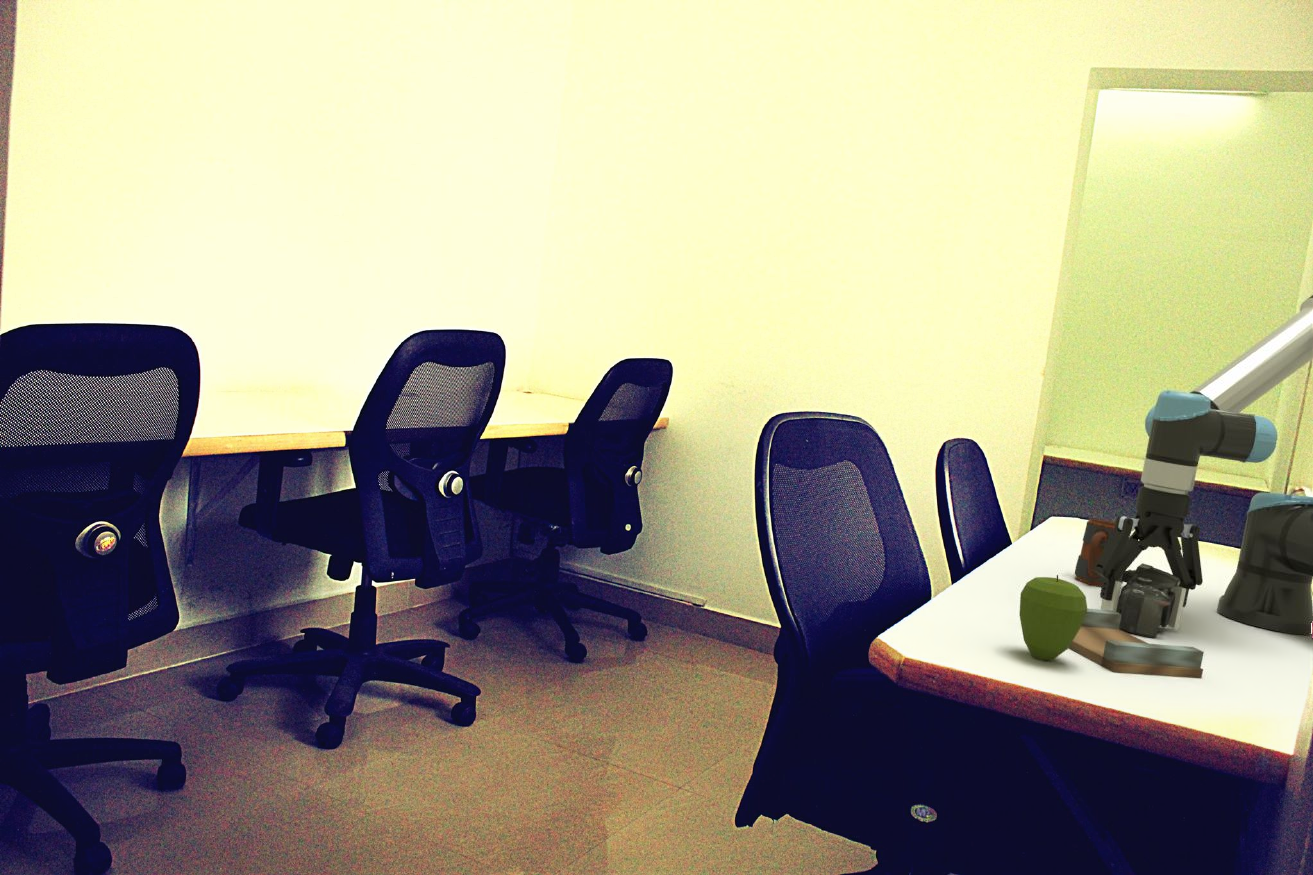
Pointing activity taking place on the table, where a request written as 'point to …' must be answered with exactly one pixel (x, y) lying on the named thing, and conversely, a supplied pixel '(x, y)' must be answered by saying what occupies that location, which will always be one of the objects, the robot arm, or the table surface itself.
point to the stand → (1131, 649)
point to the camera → (1146, 600)
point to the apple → (1050, 615)
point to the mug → (1093, 551)
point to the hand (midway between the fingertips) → (1138, 623)
